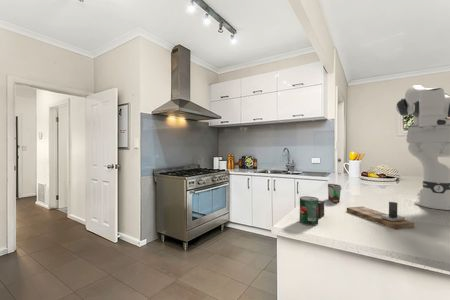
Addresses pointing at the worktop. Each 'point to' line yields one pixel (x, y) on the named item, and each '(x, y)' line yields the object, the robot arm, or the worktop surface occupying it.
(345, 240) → the worktop surface
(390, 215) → the slider
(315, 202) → the canned tomato
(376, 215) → the brown wooden board
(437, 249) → the worktop surface
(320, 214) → the box
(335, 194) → the food container
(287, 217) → the worktop surface
